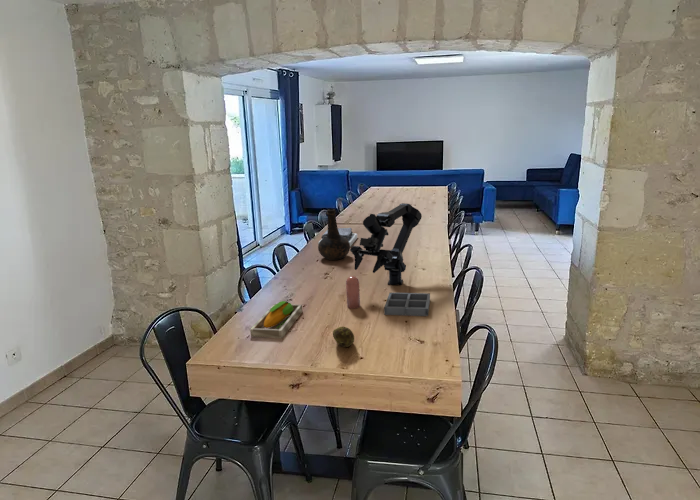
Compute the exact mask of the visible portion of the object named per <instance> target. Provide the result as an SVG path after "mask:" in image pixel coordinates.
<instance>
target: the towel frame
mask: <svg viewBox="0 0 700 500" xmlns="http://www.w3.org/2000/svg"><path fill="white" fill-rule="evenodd" d="M352 234H353V235H352V238H351V240H350V241H349V243H350V248H351V247H352V246H353V244H354V243H355V241H357V239H358V233H355V232H354V233H352ZM321 240H322V238H321V239H320V240H319V241H318V242H317V244H318V245H319V242H320V241H321Z"/></svg>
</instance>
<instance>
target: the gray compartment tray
mask: <svg viewBox="0 0 700 500" xmlns="http://www.w3.org/2000/svg"><path fill="white" fill-rule="evenodd" d="M385 301H386V302H385V304H384V307H383V309H384V315H387V316H412V317H428V316H429V312H430V311H429V310H430V302H431V293H429V292H428V293H427V292H426V293H423V292H422V293H421V292H418V293H417V292H389V294H388V297H387V299H386V300H385Z"/></svg>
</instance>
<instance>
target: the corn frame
mask: <svg viewBox="0 0 700 500" xmlns="http://www.w3.org/2000/svg"><path fill="white" fill-rule="evenodd" d="M276 304H277V303H273V304H272V306H271V307H270V308H269V309H268V310H267V311H266V312H265V313H264V314H263V315H262V316H261V317H260V318H259V319H258V320H257V322H256V323H255V324H254V325H253V326H252V327H251V328H250V329H249V331H250V337H251V338H252V337H253V338H267V339H268V338H270V339H283V338H284V336H285V335H286V334H287V333H288V331H289V330H290V328H291V327H292V326H293V325H294V323H295V322H296V320H298V318H299V316H301V314H302V313H303V305H302V304H294V303H293V304H292V303H291V304H292V306H293V313H292V315H291V316H290V317H289V316H288V317H289V318H288V317H287V318H288V320H287V321H286V322H285V323H284V324H283V325H281V326H280V327H279V328H277V329H276V328H264V321H265V319H266V317H267V316H268V314H269V313H270V309H271V308H272V307H273V306H274V305H276Z"/></svg>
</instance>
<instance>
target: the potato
mask: <svg viewBox="0 0 700 500" xmlns="http://www.w3.org/2000/svg"><path fill="white" fill-rule="evenodd" d="M332 336H333V339H334V340H335V342H336V343H337V345H338V347H344V348H348V347H350V346H351V345H353V344H354V342H355V334H354V332H353V331H352V329H350V328H348V327H347V326H338V327H337V328H335V329H333V331H332Z"/></svg>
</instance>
